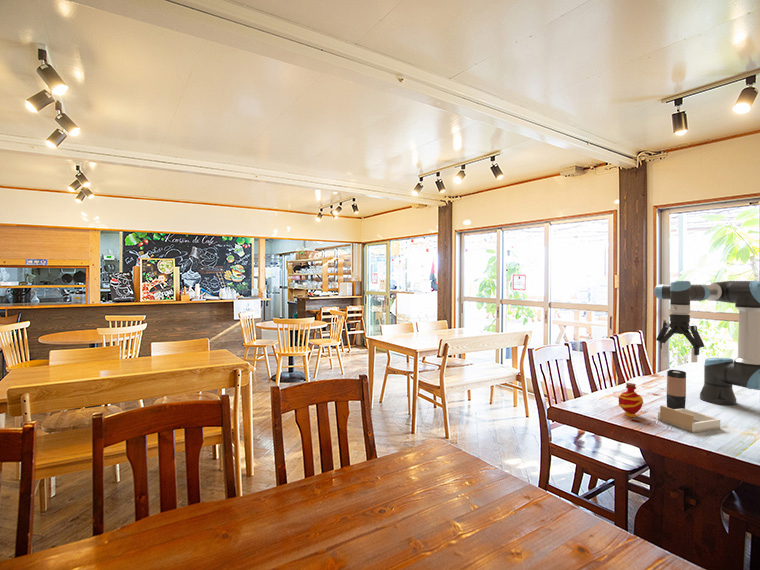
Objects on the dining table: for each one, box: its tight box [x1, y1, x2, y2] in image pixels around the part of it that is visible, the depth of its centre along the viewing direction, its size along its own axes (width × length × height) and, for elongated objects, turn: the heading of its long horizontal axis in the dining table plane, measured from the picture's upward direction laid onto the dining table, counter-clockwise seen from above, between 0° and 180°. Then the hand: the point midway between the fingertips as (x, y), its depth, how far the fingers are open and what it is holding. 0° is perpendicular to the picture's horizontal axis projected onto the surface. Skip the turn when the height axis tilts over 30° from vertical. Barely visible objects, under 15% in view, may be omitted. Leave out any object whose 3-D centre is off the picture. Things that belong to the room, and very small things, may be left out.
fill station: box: [657, 405, 721, 434], centre depth 180 cm, size 16×16×7 cm
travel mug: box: [666, 369, 687, 409], centre depth 197 cm, size 8×8×20 cm
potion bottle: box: [618, 382, 644, 418], centre depth 192 cm, size 10×10×15 cm
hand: (678, 359), depth 187 cm, fingers open, 13 cm apart
